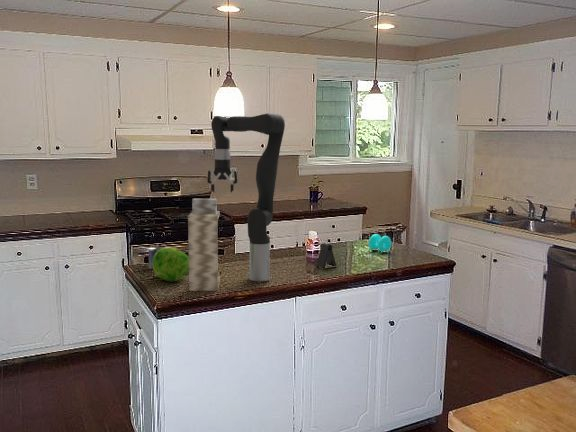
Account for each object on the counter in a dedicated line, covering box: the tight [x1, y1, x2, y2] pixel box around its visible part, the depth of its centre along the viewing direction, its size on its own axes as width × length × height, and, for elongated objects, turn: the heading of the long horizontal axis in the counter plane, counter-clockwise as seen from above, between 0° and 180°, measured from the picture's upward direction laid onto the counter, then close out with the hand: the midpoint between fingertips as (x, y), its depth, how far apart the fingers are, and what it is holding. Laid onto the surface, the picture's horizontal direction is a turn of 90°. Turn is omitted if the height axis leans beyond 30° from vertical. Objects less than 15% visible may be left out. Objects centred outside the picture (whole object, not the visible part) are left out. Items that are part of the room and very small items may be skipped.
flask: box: [148, 244, 167, 270], centre depth 264 cm, size 10×3×12 cm, turn 133°
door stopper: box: [315, 242, 337, 268], centre depth 270 cm, size 9×6×12 cm, turn 120°
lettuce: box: [152, 247, 189, 282], centre depth 242 cm, size 17×20×15 cm
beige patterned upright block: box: [187, 210, 221, 292], centre depth 232 cm, size 12×16×32 cm
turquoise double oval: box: [368, 233, 392, 252], centre depth 308 cm, size 10×10×10 cm
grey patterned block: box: [191, 197, 218, 214], centre depth 240 cm, size 10×23×6 cm, turn 4°
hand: (222, 192), depth 259 cm, fingers open, 8 cm apart
